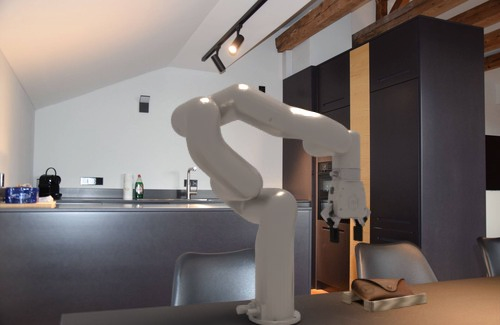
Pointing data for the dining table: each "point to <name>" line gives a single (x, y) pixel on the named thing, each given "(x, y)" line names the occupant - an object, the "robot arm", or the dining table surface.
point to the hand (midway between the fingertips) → (346, 241)
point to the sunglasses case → (380, 288)
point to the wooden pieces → (385, 301)
